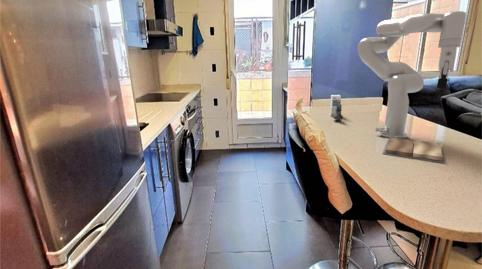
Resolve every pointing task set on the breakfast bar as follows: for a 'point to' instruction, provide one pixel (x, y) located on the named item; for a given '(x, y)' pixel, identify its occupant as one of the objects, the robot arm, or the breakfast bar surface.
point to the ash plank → (427, 150)
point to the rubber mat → (415, 157)
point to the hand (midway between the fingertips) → (441, 88)
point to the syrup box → (334, 104)
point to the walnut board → (400, 147)
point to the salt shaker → (338, 114)
